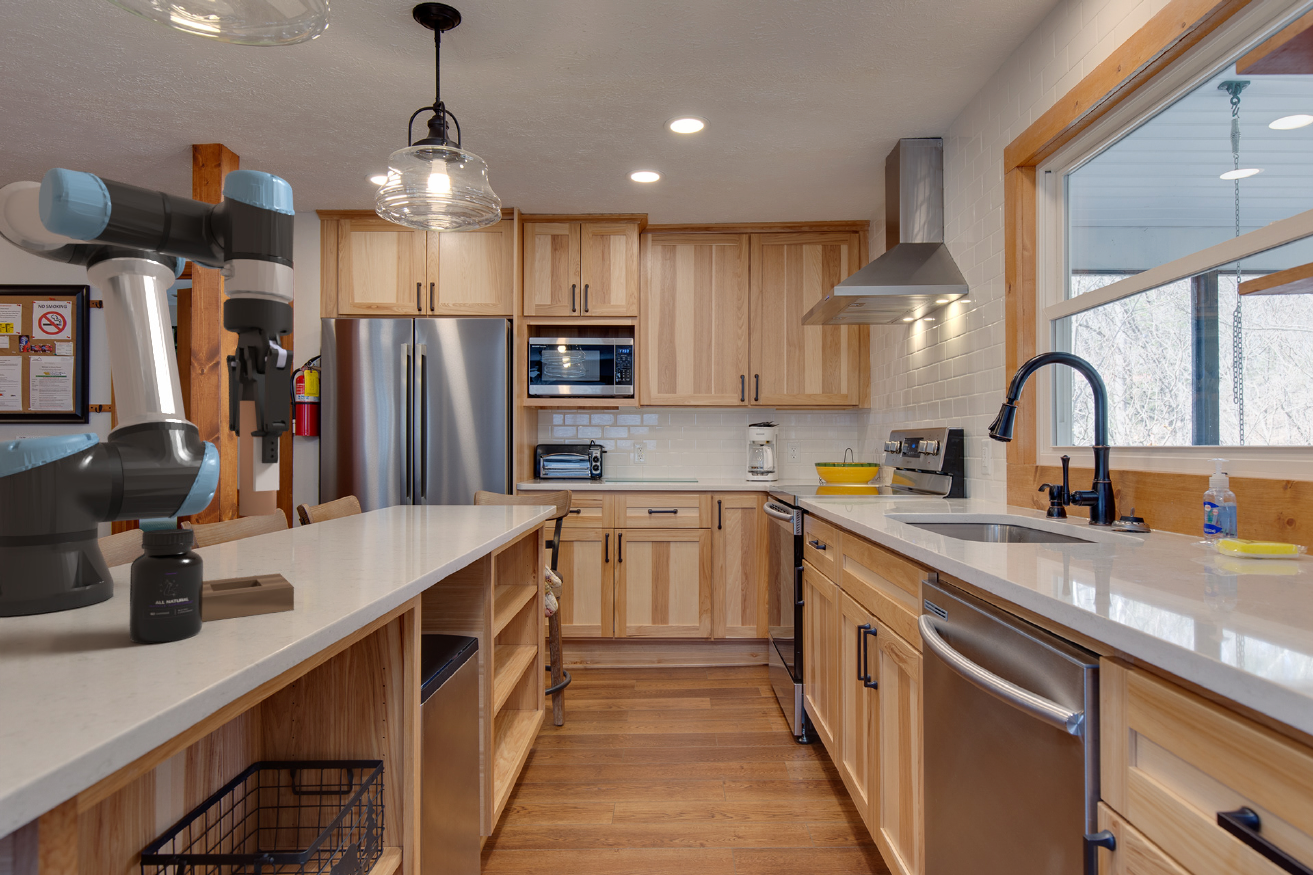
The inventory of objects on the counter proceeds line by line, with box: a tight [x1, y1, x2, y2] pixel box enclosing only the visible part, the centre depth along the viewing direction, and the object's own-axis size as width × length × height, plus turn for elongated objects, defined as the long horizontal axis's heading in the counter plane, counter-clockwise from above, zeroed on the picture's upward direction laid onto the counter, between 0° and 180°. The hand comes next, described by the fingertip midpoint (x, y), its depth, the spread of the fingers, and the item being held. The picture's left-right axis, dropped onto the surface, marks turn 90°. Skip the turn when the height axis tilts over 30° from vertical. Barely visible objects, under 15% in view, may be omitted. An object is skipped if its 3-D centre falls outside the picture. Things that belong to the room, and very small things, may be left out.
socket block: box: [202, 573, 295, 623], centre depth 93 cm, size 12×12×3 cm
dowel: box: [238, 401, 278, 517], centre depth 87 cm, size 4×4×14 cm
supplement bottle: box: [129, 528, 204, 644], centre depth 80 cm, size 7×7×12 cm
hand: (258, 489), depth 87 cm, fingers closed on dowel, 4 cm apart
